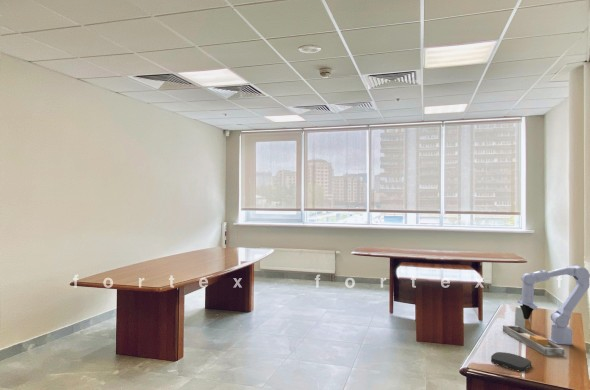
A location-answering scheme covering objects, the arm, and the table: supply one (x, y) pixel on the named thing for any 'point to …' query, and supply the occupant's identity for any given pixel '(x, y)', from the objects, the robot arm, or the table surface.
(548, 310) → the table surface
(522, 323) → the small box
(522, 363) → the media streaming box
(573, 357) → the table surface
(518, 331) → the trap lane
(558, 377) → the table surface
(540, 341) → the orange block
